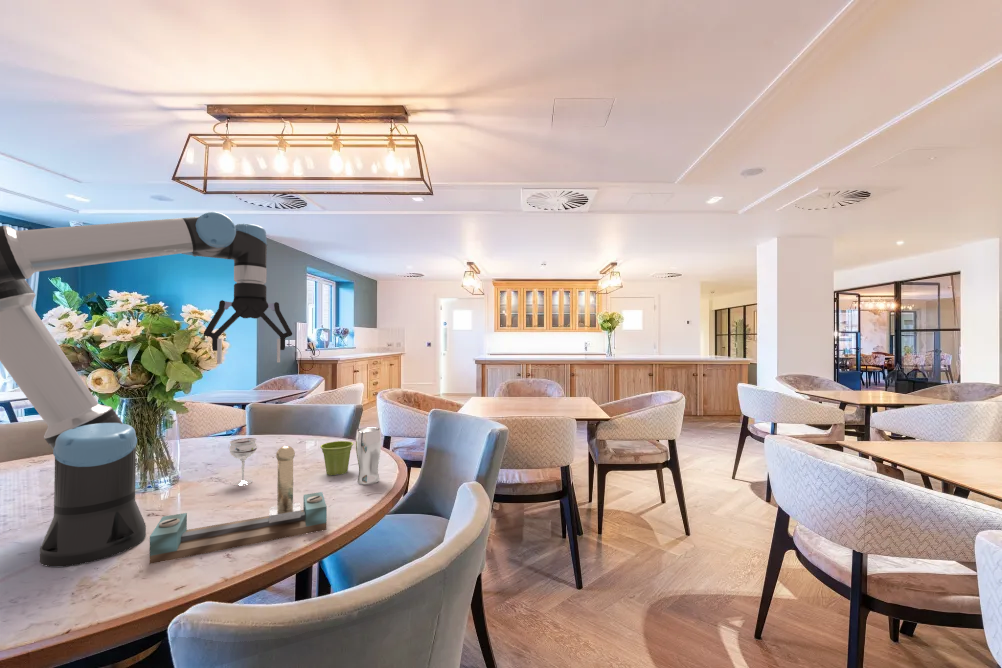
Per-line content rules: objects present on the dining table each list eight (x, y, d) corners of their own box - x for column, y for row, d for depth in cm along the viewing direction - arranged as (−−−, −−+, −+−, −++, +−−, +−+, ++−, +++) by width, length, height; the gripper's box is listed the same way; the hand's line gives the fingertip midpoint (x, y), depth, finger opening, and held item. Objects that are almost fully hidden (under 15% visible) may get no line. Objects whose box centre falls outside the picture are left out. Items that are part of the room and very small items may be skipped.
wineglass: (226, 482, 122) (227, 440, 122) (253, 477, 127) (253, 436, 127) (231, 488, 117) (231, 444, 117) (259, 482, 122) (259, 440, 122)
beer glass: (365, 487, 118) (365, 433, 118) (350, 482, 122) (351, 429, 122) (386, 480, 124) (386, 428, 124) (371, 476, 128) (371, 426, 128)
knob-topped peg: (269, 523, 88) (269, 449, 89) (269, 514, 93) (269, 444, 93) (300, 517, 91) (301, 446, 91) (299, 509, 96) (300, 441, 96)
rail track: (149, 564, 78) (149, 533, 78) (162, 541, 86) (162, 513, 86) (326, 529, 92) (326, 503, 92) (322, 513, 100) (322, 489, 100)
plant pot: (338, 479, 125) (338, 449, 125) (313, 475, 128) (313, 446, 128) (359, 470, 134) (359, 442, 134) (335, 466, 137) (335, 439, 137)
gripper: (301, 287, 123) (300, 361, 123) (196, 282, 112) (195, 363, 111) (302, 284, 117) (302, 362, 116) (191, 278, 105) (190, 364, 105)
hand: (249, 363), depth 114 cm, fingers open, 13 cm apart
